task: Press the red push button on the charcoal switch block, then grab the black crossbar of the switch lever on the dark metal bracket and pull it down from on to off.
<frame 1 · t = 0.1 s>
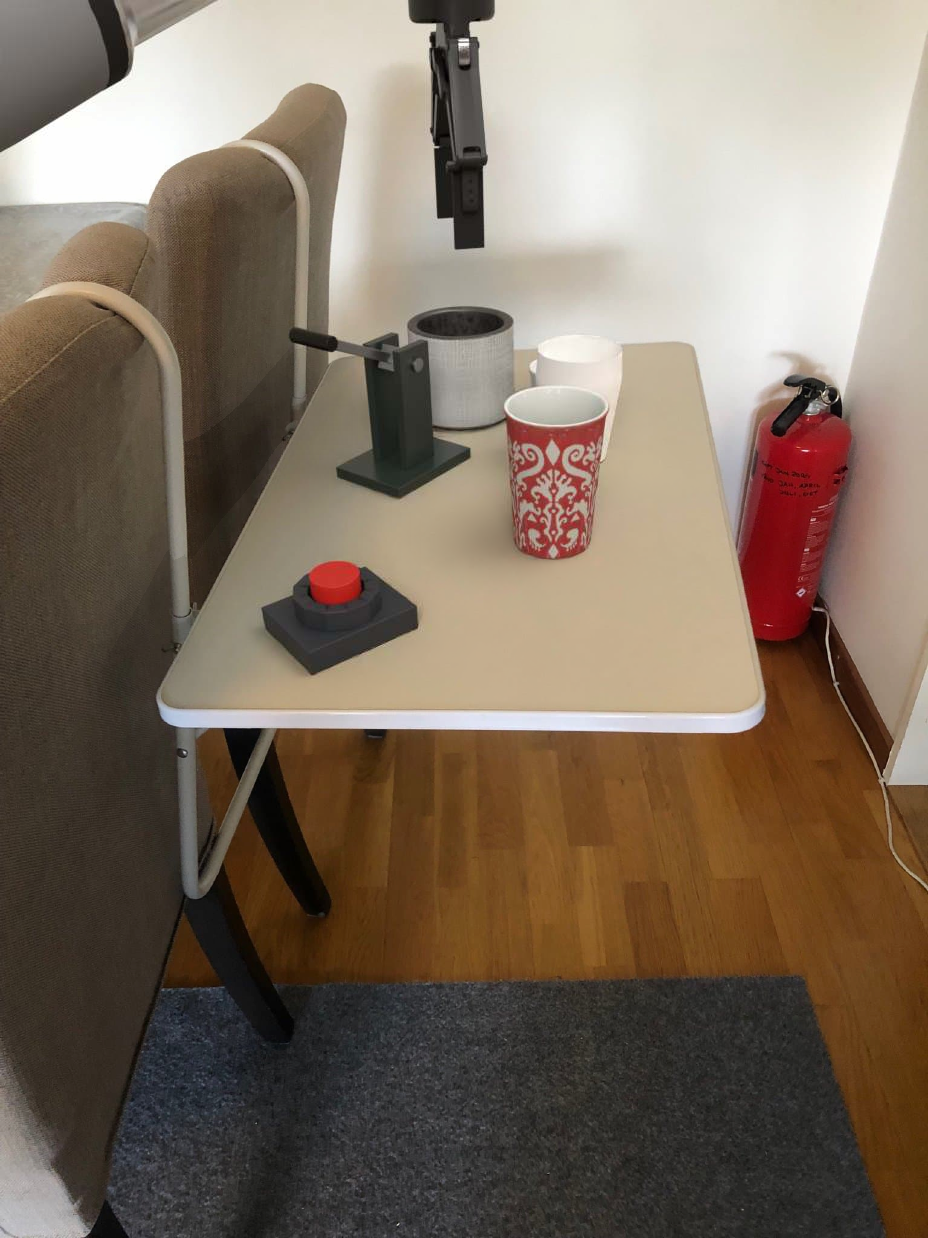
hand: (459, 231, 90), 23 cm above the table, tool pointing down, fingers open, 13 cm apart
cup: (575, 457, 101), on the table
lever bracket: (404, 467, 100), on the table
button: (335, 582, 73), point 4 cm above the table, slide at 0.1 cm
switch lever: (359, 350, 89), point 14 cm above the table, hinge at 25.0°
planter: (463, 414, 113), on the table
ramekin: (564, 400, 115), on the table
switch block: (341, 628, 76), on the table
mug: (552, 532, 88), on the table
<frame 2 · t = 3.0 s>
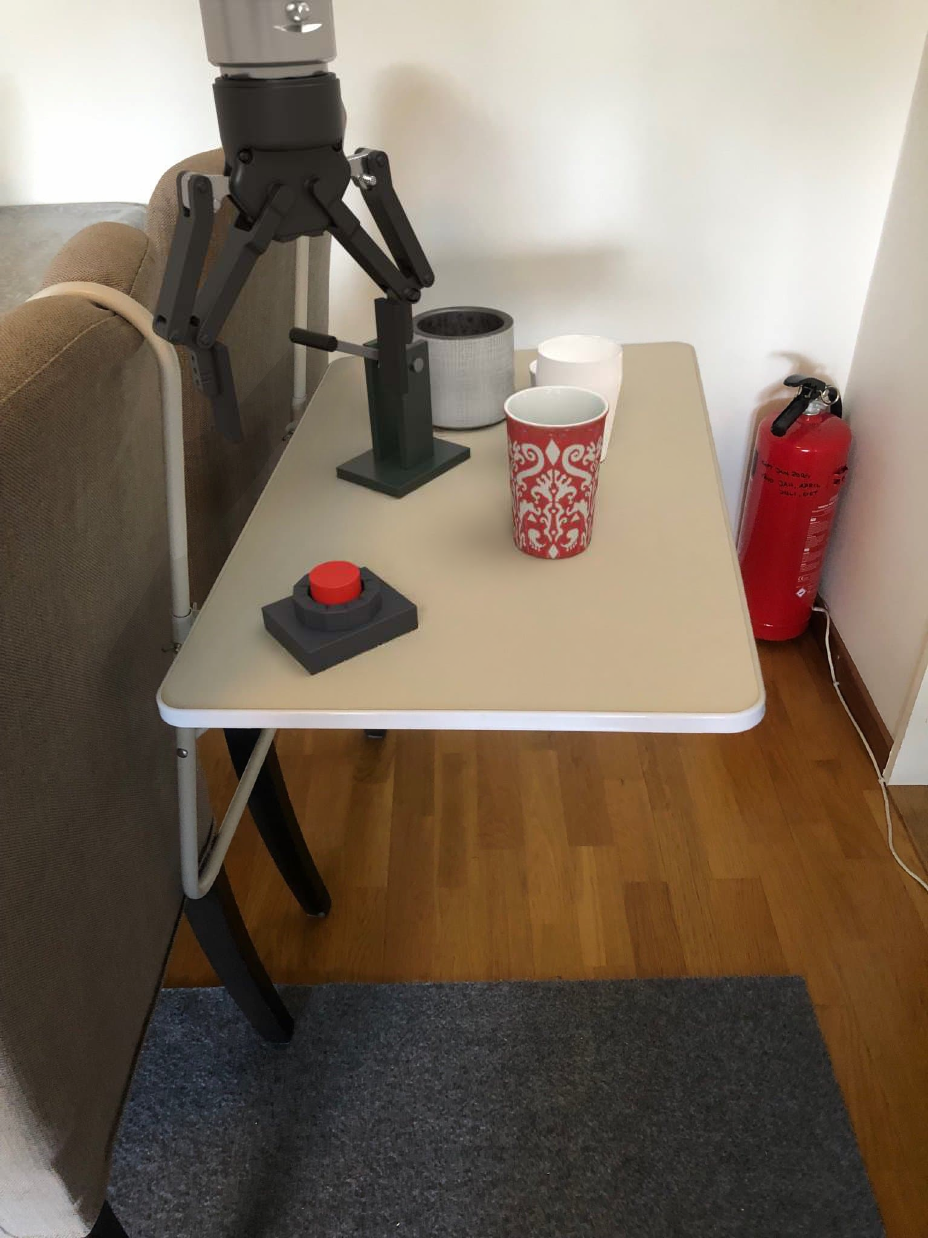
hand: (316, 412, 66), 18 cm above the table, tool pointing down, fingers open, 13 cm apart
nothing on the table moved.
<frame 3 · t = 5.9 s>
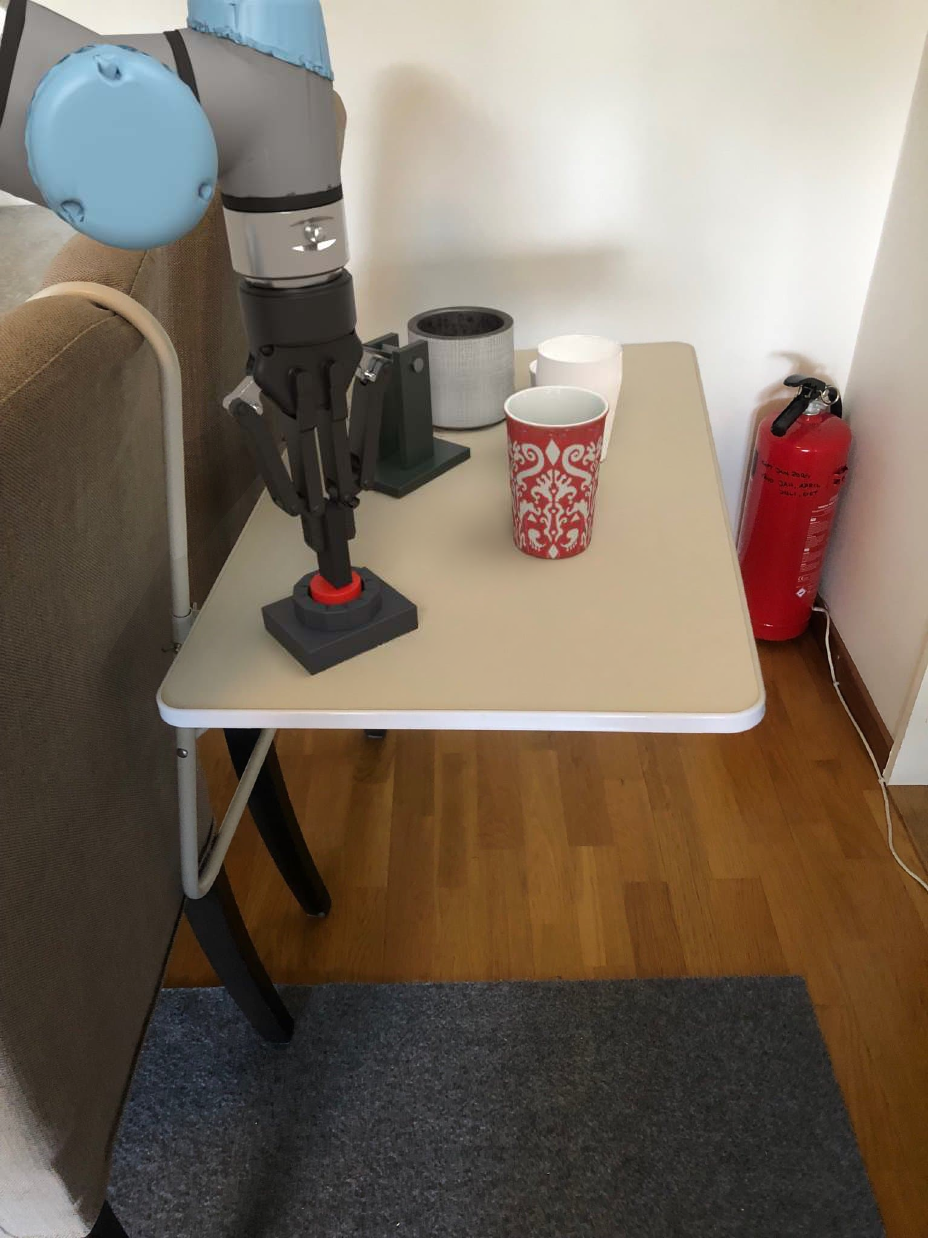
hand: (336, 578, 73), 5 cm above the table, tool pointing down, fingers closed
button: (336, 590, 74), point 4 cm above the table, slide at -0.7 cm, touching gripper
everything else where it was.
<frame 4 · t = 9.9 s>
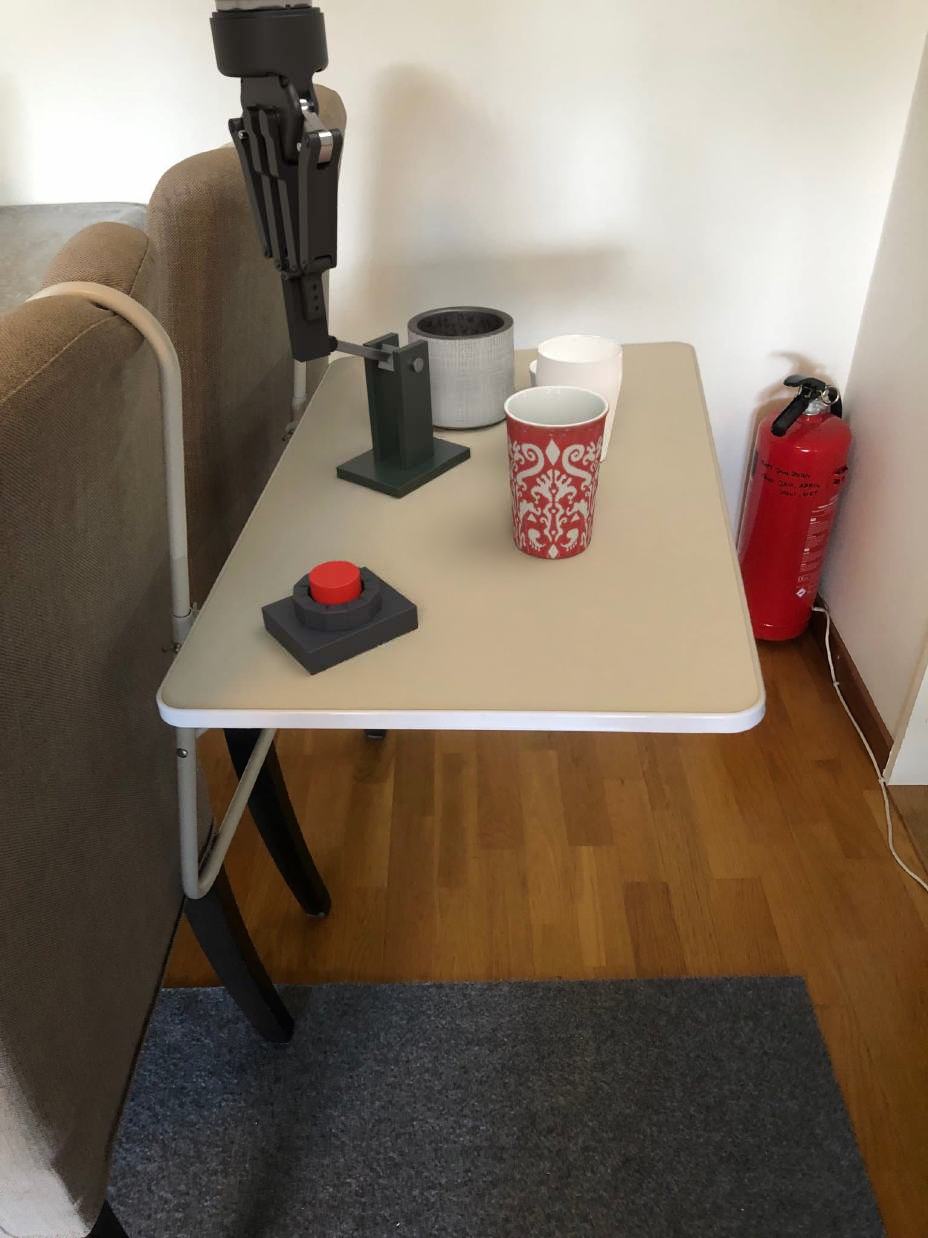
hand: (311, 356, 74), 19 cm above the table, tool pointing down, fingers closed
button: (335, 582, 73), point 4 cm above the table, slide at 0.1 cm
everything else where it was.
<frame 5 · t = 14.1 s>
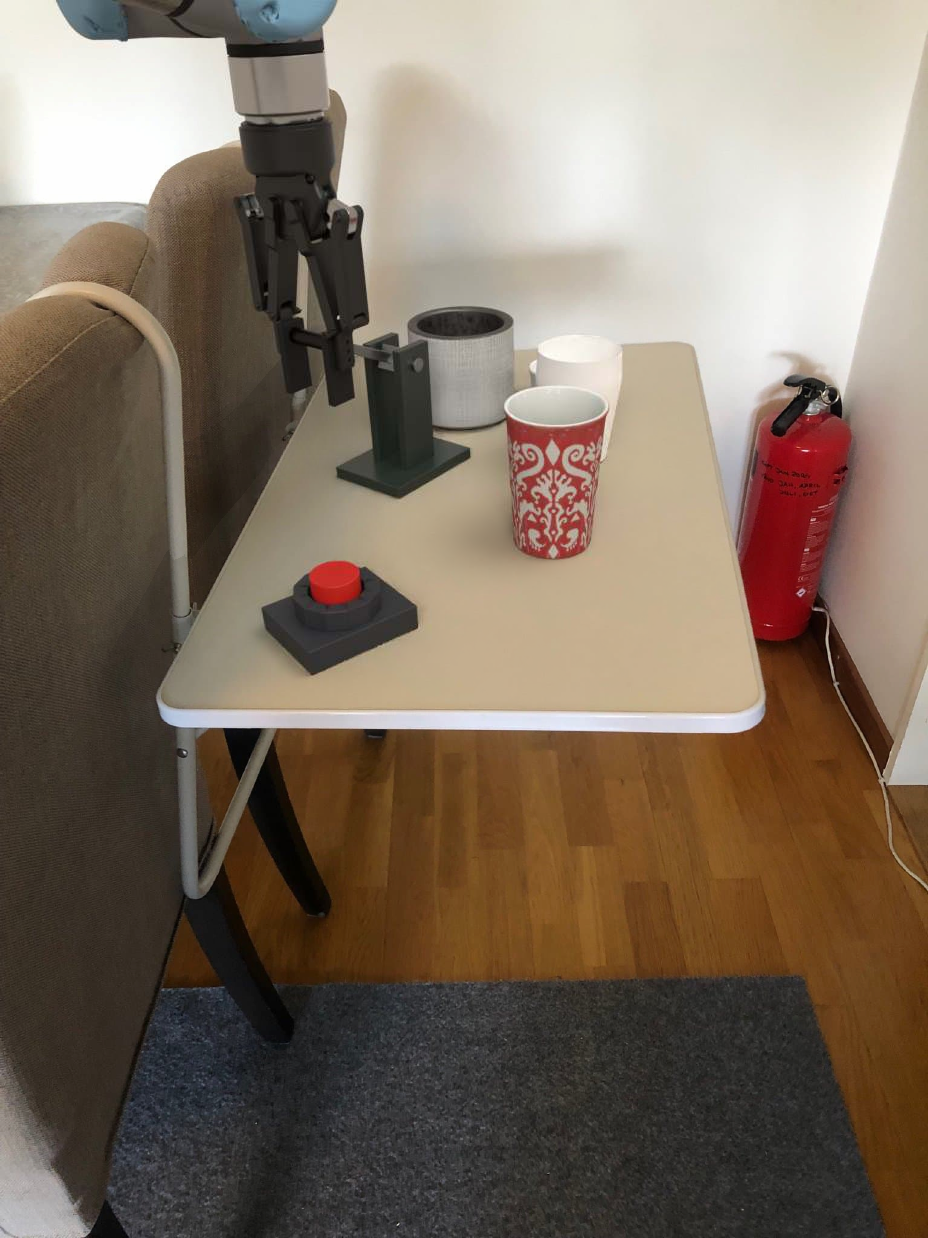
hand: (320, 394, 87), 12 cm above the table, tool pointing down, fingers closed on switch lever, 5 cm apart
switch lever: (359, 350, 89), point 14 cm above the table, hinge at 25.0°, touching gripper
everything else where it was.
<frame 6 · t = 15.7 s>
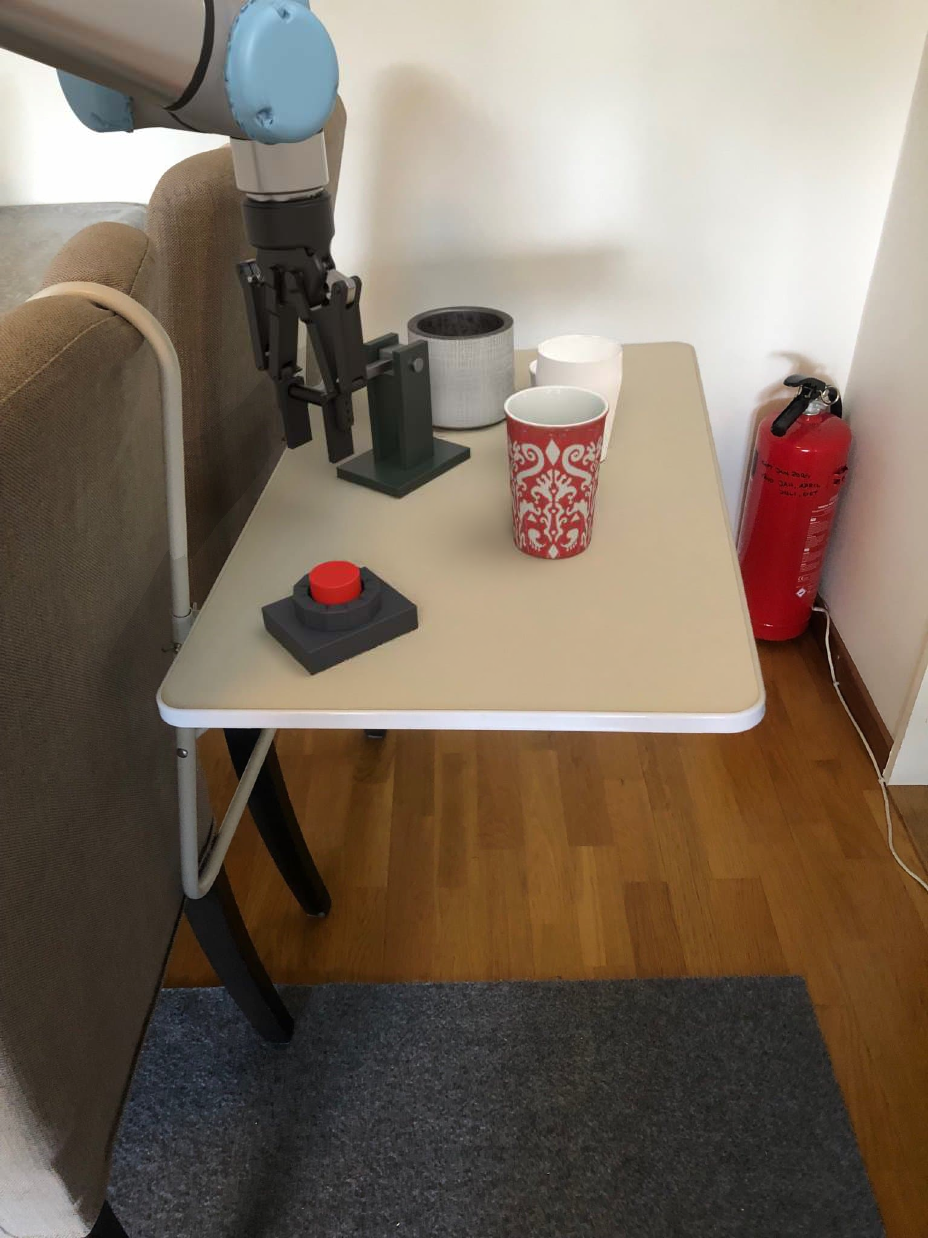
hand: (320, 450, 89), 6 cm above the table, tool pointing down, fingers closed on switch lever, 5 cm apart
switch lever: (358, 375, 90), point 12 cm above the table, hinge at 0.4°, touching gripper
everything else where it was.
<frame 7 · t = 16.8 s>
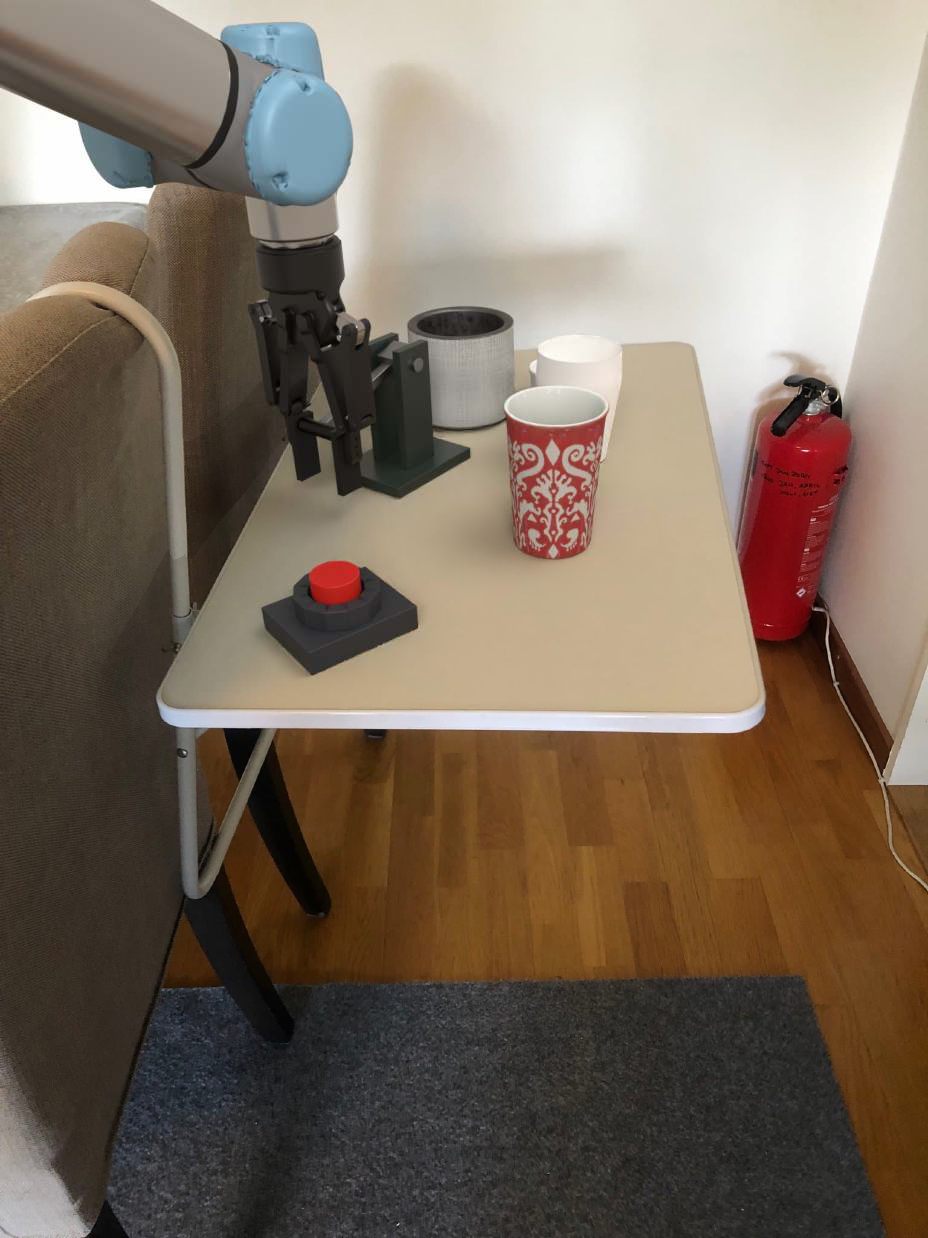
hand: (329, 482, 92), 3 cm above the table, tool pointing down, fingers open, 5 cm apart
switch lever: (361, 391, 91), point 10 cm above the table, hinge at -16.9°
everything else where it was.
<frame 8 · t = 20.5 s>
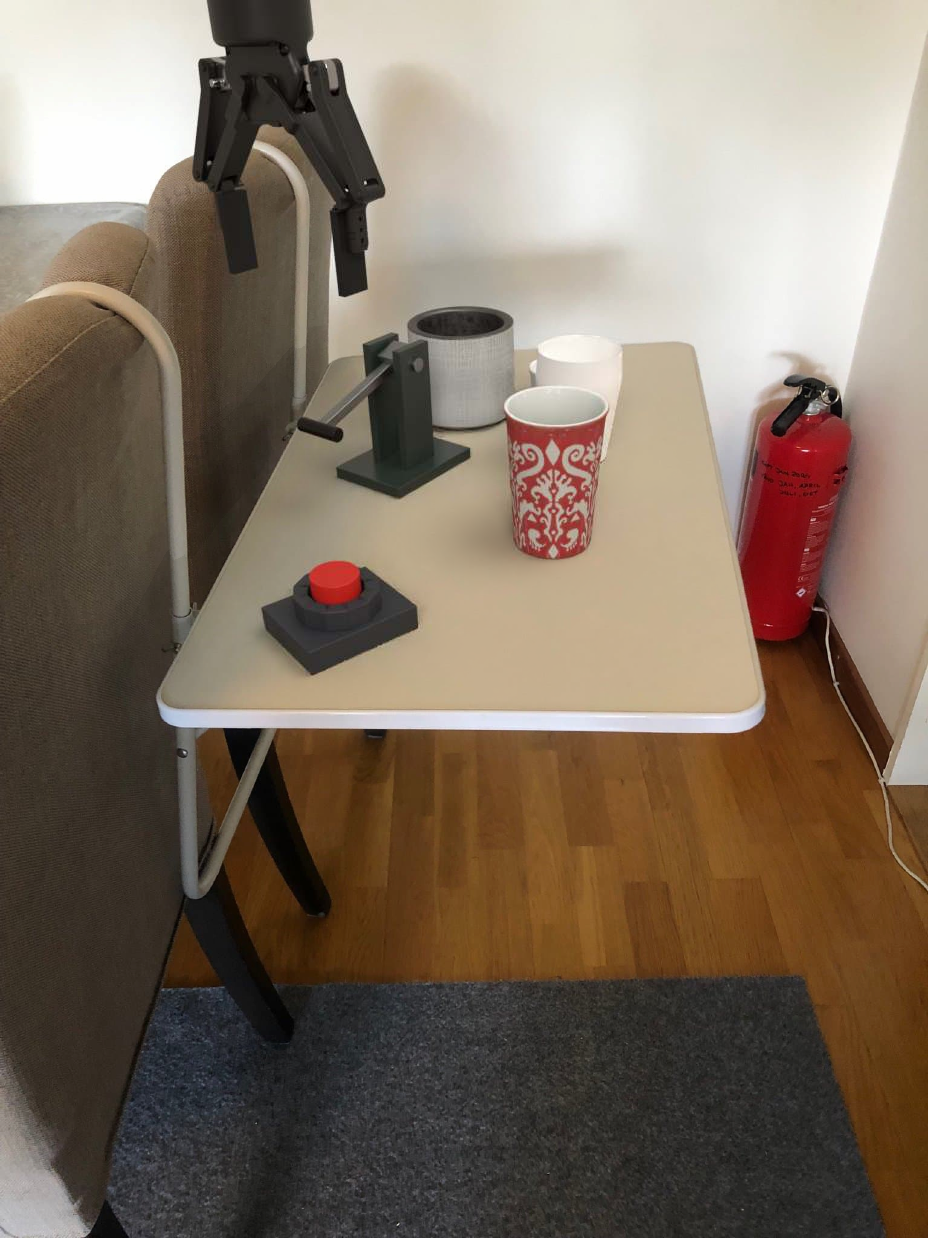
hand: (296, 281, 79), 23 cm above the table, tool pointing down, fingers open, 13 cm apart
nothing on the table moved.
at the end: button pushed in 1.0 cm at the most during the clip, back to where it started at the end; button slide at 0.1 cm; switch lever at -17° (first picture: +25°) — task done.
